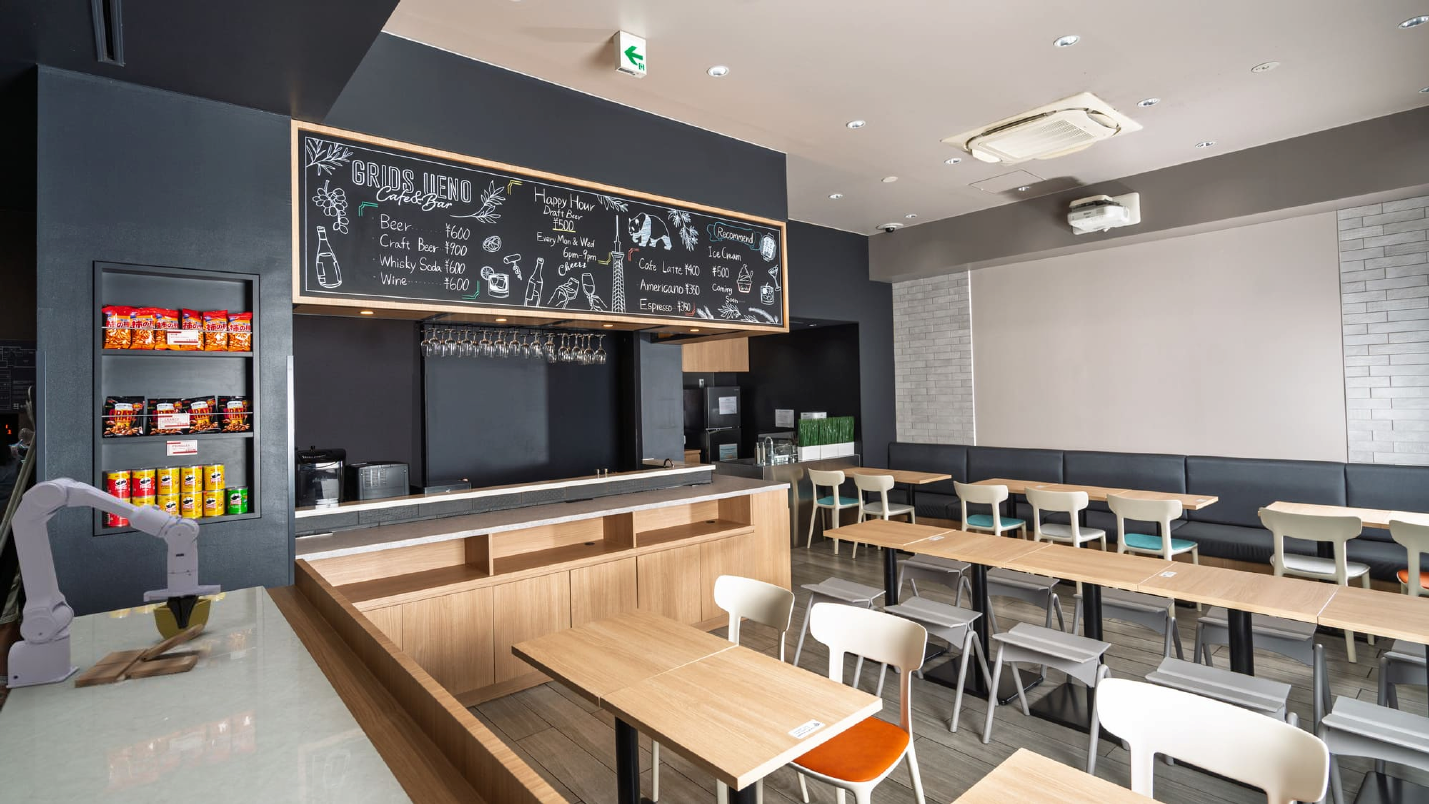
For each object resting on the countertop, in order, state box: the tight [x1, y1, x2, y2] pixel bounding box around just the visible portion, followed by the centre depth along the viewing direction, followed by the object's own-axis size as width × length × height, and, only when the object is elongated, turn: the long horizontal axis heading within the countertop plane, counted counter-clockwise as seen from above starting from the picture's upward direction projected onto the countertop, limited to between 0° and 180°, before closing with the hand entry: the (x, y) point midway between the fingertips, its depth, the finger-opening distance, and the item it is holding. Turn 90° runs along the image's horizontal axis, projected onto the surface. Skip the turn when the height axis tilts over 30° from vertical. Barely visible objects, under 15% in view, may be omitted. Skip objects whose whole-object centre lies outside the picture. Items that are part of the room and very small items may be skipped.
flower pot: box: [152, 598, 212, 641], centre depth 177 cm, size 9×9×9 cm
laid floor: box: [74, 647, 149, 689], centre depth 156 cm, size 8×18×2 cm, turn 23°
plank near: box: [124, 654, 198, 680], centre depth 155 cm, size 12×6×2 cm, turn 112°
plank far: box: [139, 623, 205, 661], centre depth 164 cm, size 12×6×2 cm, turn 112°
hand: (183, 627), depth 162 cm, fingers closed
